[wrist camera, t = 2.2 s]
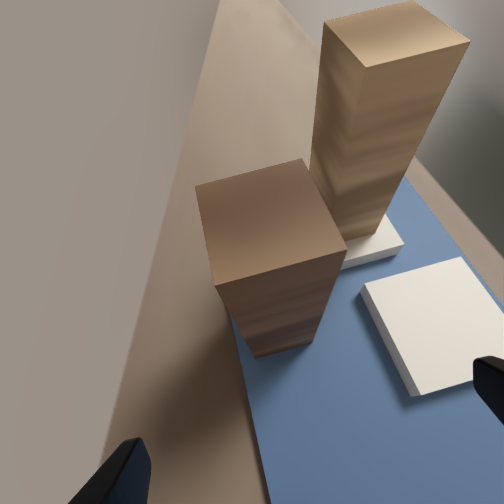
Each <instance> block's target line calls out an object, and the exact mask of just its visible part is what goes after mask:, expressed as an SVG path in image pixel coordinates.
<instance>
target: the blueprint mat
mask: <svg viewBox="0 0 504 504" xmlns="http://www.w3.org/2000/svg"><path fill="white" fill-rule="evenodd" d="M345 244H346V246H347V248H348V251H347V253H346V256H345V259H344V261H343V264H342V267H341V269H340V272H339V274H338V277H337V280H336V282H335V285H334V287H333V290H332V293H331V295H330V298H329V301H328V303H327V306H326V308H325V311H324V314H323V316H322V319H321V321H320V324H319V327H318V329H317V332H316V334H315V337H314V340H313V342H312V343H310V344H307V345H303V346H300V347H296V348H293V349H289V350H286V351H282V352H279V353H275V354H272V355H268V356H265V357H261V358H258V359H255V358H254V356H253V354H252V353H251V351H250V349H249V347H248V345H247V344H246V342H245V340H244V338H243V336H242V335H241V333H240V331H239V329H238V327H237V326H236V324H235V322H234V320H233V318H232V316H231V315H230V317H231V321H232V326H233V330H234V335H235V339H236V344H237V349H238V353H239V358H240V362H241V367H242V372H243V376H244V381H245V385H246V390H247V395H248V399H249V404H250V408H251V413H252V417H253V422H254V427H255V431H256V436H257V440H258V445H259V450H260V454H261V459H262V463H263V468H264V473H265V477H266V482H267V486H268V491H269V496H270V500H271V504H504V426H503V424H502V423H501V422H500V421H499V419H498V418H497V417H496V416H495V415H494V413H493V412H492V411H491V410H490V409H489V407H488V406H487V405H486V404H485V402H484V401H483V400H482V399H481V398H480V396H479V395H478V394H477V392H476V391H475V389H474V386H473V361H474V359H476V358H479V357H484V356H495V357H498V358H501V359H504V307H503V305H502V304H501V303H500V301H499V300H498V299H497V297H496V296H495V295H494V293H493V292H492V291H491V289H490V288H489V287H488V285H487V284H486V283H485V281H484V280H483V279H482V278H481V276H480V275H479V274H478V272H477V271H476V270H475V268H474V267H473V266H472V264H471V263H470V262H469V260H468V259H467V258H466V256H465V255H464V254H463V252H462V251H461V250H460V248H459V247H458V246H457V244H456V243H455V242H454V240H453V239H452V238H451V236H450V235H449V234H448V233H447V231H446V230H445V229H444V227H443V226H442V225H441V223H440V222H439V221H438V219H437V218H436V217H435V215H434V214H433V213H432V211H431V210H430V209H429V207H428V206H427V205H426V203H425V202H424V201H423V199H422V198H421V197H420V195H419V194H418V193H417V192H416V190H415V189H414V188H413V186H412V185H411V184H410V182H409V181H408V180H407V178H406V177H405V176H403V178H402V180H401V182H400V184H399V186H398V188H397V190H396V192H395V194H394V196H393V198H392V200H391V202H390V204H389V206H388V208H387V210H386V212H385V214H384V216H383V218H382V220H381V223H380V225H379V227H378V229H377V231H376V233H374V234H370V235H366V236H363V237H359V238H355V239H352V240H348V241H345Z"/></svg>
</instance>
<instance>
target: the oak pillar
mask: <svg viewBox="0 0 504 504" xmlns="http://www.w3.org/2000/svg"><path fill="white" fill-rule="evenodd" d="M470 42H471V41H470V40H469V39H467V38H466V37H464V36H463V35H461V34H460V33H459V32H457V31H456V30H454V29H453V28H451V27H450V26H448V25H447V24H445V23H444V22H443V21H441V20H440V19H438V18H437V17H436V16H434V15H433V14H431V13H430V12H428V11H427V10H425V9H424V8H423V7H421V6H420V5H418V4H417V3H415V2H414V1H412V0H410V1H406V2H402V3H398V4H394V5H390V6H386V7H381V8H377V9H373V10H369V11H365V12H361V13H357V14H352V15H349V16H345V17H340V18H336V19H332V20H328V21H324V26H323V36H322V47H321V56H320V66H319V77H318V87H317V97H316V107H315V117H314V127H313V137H312V147H311V158H310V168H309V173H310V175H311V177H312V179H313V181H314V183H315V185H316V187H317V189H318V191H319V193H320V195H321V197H322V199H323V201H324V202H325V204H326V206H327V208H328V210H329V212H330V214H331V216H332V218H333V220H334V222H335V224H336V226H337V228H338V230H339V232H340V234H341V236H342V238H343V240H344V242H345V241H348V240H352V239H355V238H359V237H363V236H366V235H370V234H374V233H376V231H377V229H378V227H379V225H380V223H381V220H382V218H383V216H384V214H385V212H386V210H387V208H388V206H389V204H390V202H391V200H392V198H393V196H394V194H395V192H396V190H397V188H398V186H399V184H400V182H401V180H402V178H403V176H404V174H405V172H406V170H407V168H408V166H409V164H410V162H411V160H412V158H413V156H414V154H415V152H416V150H417V148H418V146H419V144H420V142H421V140H422V138H423V136H424V134H425V132H426V130H427V128H428V126H429V124H430V122H431V120H432V118H433V116H434V114H435V112H436V110H437V108H438V106H439V104H440V102H441V100H442V98H443V96H444V94H445V92H446V90H447V88H448V86H449V84H450V82H451V80H452V78H453V76H454V74H455V72H456V70H457V68H458V66H459V64H460V62H461V60H462V58H463V56H464V54H465V52H466V50H467V48H468V46H469V44H470Z"/></svg>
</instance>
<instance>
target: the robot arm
mask: <svg viewBox="0 0 504 504" xmlns="http://www.w3.org/2000/svg"><path fill="white" fill-rule="evenodd" d="M473 386H474V389H475V391H476V392H477V394H478V395H479V396H480V398H481V399H482V400H483V401H484V402H485V404H486V405H487V406H488V407H489V409H490V410H491V411H492V412H493V413H494V415H495V416H496V417H497V418H498V419H499V421H500V422H501V423H502V424H503V426H504V359H501V358H498V357H495V356H484V357H479V358H476V359H474V361H473ZM150 476H151V460H150V457H149V455H148V452H147V450H146V447H145V445H144V442H143V440H142V439H141V438H140V437H137V438H132V439H128V440H125V441H124V442H122V443H121V444H120V446H119V447H118V448H117V449H116V450H115V451H114V452H113V453H112V455H111V456H110V457H109V458H108V459H107V460H106V461H105V462H104V464H103V465H102V466H101V467H100V468H99V469H98V470H97V471H96V473H95V474H94V475H93V476H92V477H91V478H90V479H89V480H88V482H87V483H86V484H85V485H84V486H83V487H82V488H81V489H80V491H79V492H78V493H77V494H76V495H75V496H74V497H73V498H72V500H71V501H70V502H69V503H68V504H147V498H148V491H149V483H150Z"/></svg>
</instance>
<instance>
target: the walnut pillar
mask: <svg viewBox="0 0 504 504" xmlns="http://www.w3.org/2000/svg"><path fill="white" fill-rule="evenodd" d="M195 190H196V195H197V200H198V205H199V210H200V215H201V220H202V225H203V230H204V235H205V240H206V245H207V250H208V255H209V260H210V265H211V270H212V275H213V280H214V285H215V287H216V289H217V291H218V293H219V295H220V297H221V298H222V300H223V302H224V304H225V306H226V307H227V309H228V311H229V313H230V315H231V316H232V318H233V320H234V322H235V324H236V326H237V327H238V329H239V331H240V333H241V335H242V336H243V338H244V340H245V342H246V344H247V345H248V347H249V349H250V351H251V353H252V354H253V356H254V358H255V359H258V358H261V357H265V356H268V355H272V354H275V353H279V352H282V351H286V350H289V349H293V348H296V347H300V346H303V345H307V344H310V343H312V342H313V340H314V337H315V334H316V332H317V329H318V327H319V324H320V321H321V319H322V316H323V314H324V311H325V308H326V306H327V303H328V301H329V298H330V295H331V293H332V290H333V287H334V285H335V282H336V280H337V277H338V274H339V272H340V269H341V267H342V264H343V261H344V259H345V256H346V253H347V251H348V248H347V246H346V244H345V242H344V240H343V238H342V236H341V234H340V232H339V230H338V228H337V226H336V224H335V222H334V220H333V218H332V216H331V214H330V212H329V210H328V208H327V206H326V204H325V202H324V201H323V199H322V197H321V195H320V193H319V191H318V189H317V187H316V185H315V183H314V181H313V179H312V177H311V175H310V173H309V171H308V169H307V167H306V165H305V163H304V161H303V159H302V158H301V159H298V160H294V161H290V162H286V163H282V164H278V165H275V166H271V167H267V168H263V169H259V170H255V171H252V172H248V173H244V174H240V175H236V176H232V177H229V178H225V179H221V180H217V181H213V182H209V183H206V184H202V185H198V186H195Z"/></svg>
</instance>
